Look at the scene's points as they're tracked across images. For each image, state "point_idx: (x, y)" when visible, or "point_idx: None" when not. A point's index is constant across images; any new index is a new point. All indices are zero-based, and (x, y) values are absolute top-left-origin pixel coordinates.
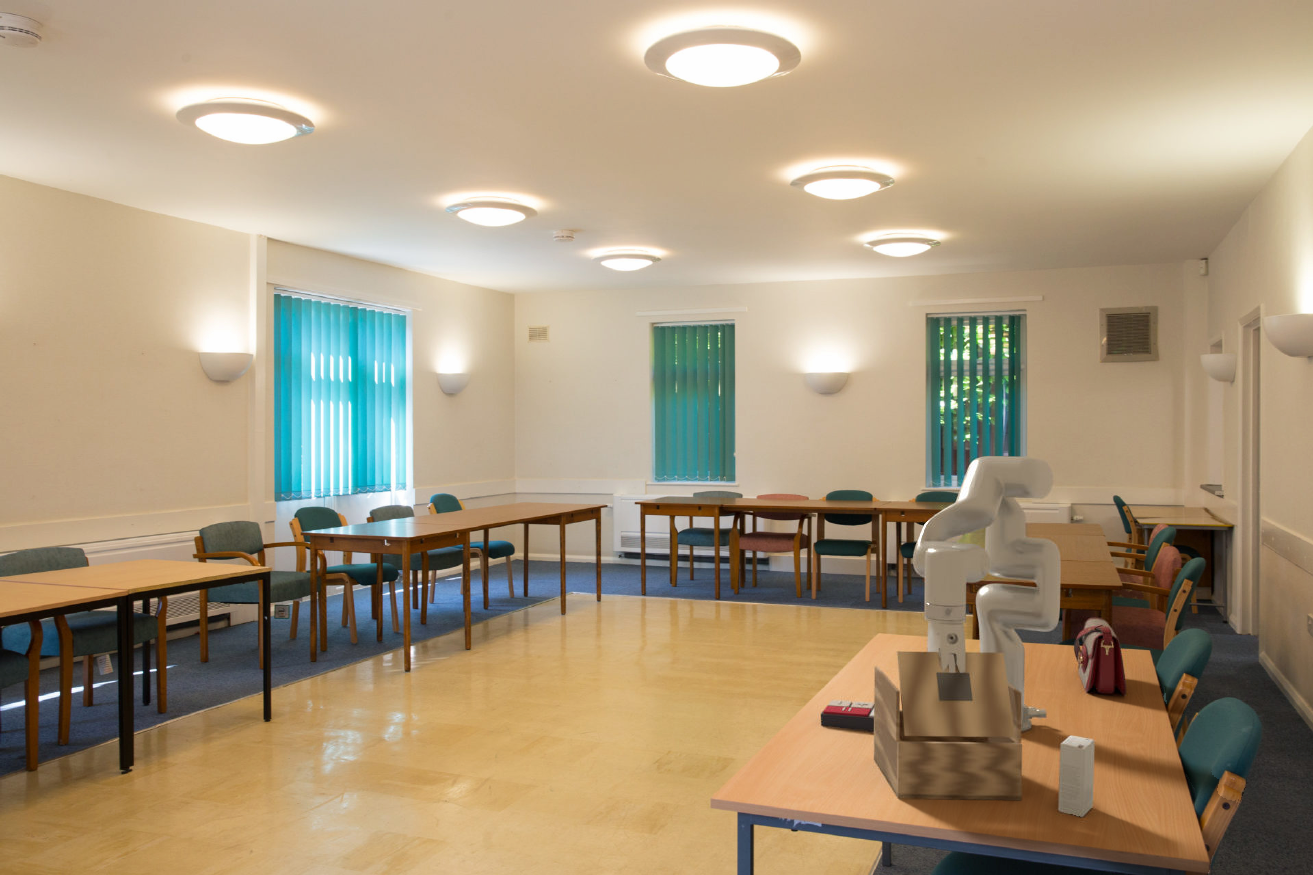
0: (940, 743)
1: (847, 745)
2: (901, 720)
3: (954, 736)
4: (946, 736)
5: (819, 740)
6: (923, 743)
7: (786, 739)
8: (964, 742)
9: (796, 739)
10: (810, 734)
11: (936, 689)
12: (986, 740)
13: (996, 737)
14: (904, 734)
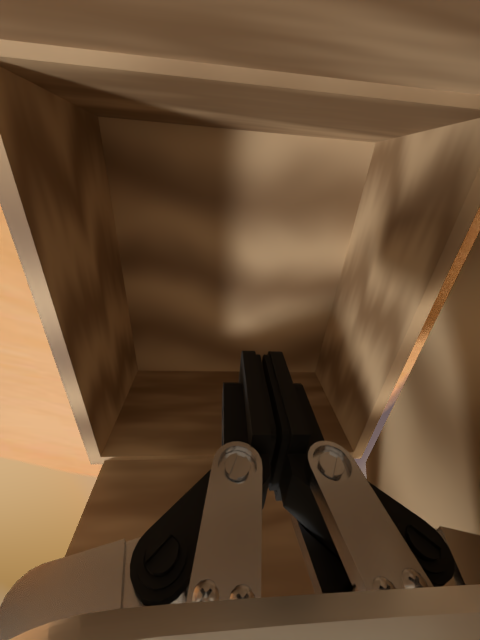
0: (394, 384)
1: (60, 397)
2: (98, 388)
3: (416, 363)
4: (405, 382)
5: (46, 430)
6: (378, 417)
7: (59, 466)
8: (412, 323)
9: (53, 456)
10: (15, 438)
11: None
12: (123, 102)
13: (241, 101)
14: (366, 465)
